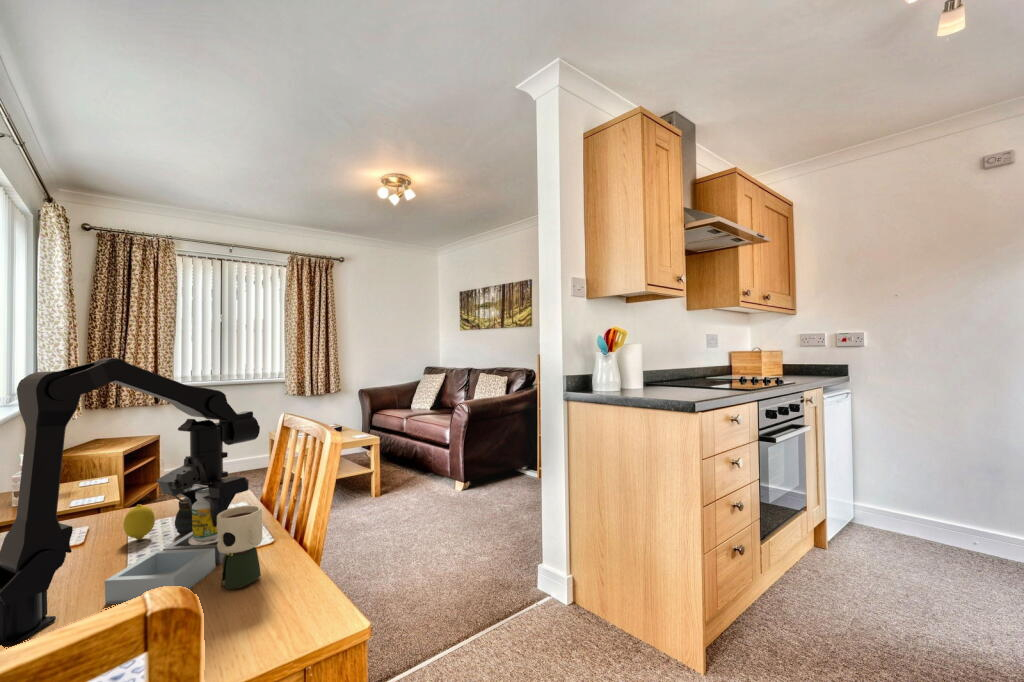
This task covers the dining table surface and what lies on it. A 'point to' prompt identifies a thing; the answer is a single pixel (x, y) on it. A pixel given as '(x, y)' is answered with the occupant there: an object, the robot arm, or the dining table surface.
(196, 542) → the disc
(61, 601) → the dining table surface
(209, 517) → the supplement bottle
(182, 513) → the mate gourd
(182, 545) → the grey square tray
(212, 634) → the dining table surface
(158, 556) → the bin
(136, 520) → the lemon
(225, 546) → the character mug
